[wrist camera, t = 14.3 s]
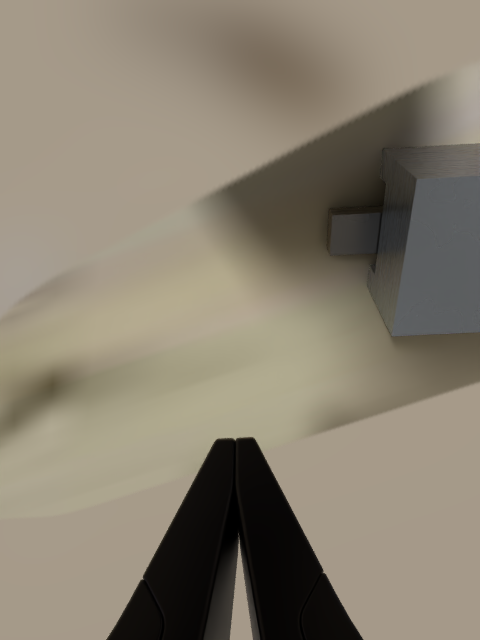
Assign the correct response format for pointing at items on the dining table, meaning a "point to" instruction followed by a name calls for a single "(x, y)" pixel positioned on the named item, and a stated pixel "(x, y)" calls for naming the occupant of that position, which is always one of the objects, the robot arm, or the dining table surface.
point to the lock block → (429, 241)
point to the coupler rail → (354, 230)
